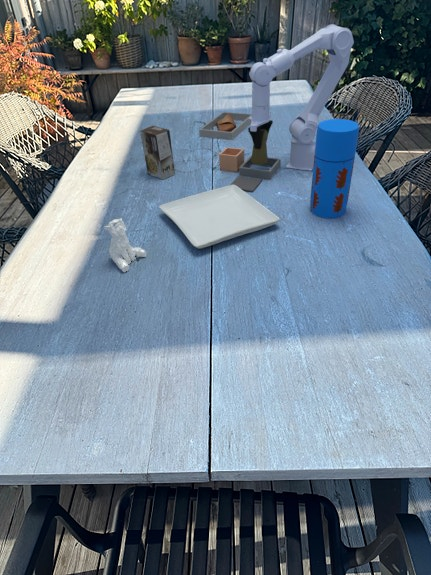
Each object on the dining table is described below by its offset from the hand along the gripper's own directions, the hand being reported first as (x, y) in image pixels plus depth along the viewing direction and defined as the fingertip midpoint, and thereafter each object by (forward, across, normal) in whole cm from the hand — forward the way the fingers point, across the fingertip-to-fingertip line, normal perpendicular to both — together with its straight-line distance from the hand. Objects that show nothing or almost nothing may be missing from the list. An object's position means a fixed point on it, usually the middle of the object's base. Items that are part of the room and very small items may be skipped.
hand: (260, 145), depth 142 cm
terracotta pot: (+9, 0, -11) cm, 14 cm away
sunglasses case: (+10, -39, -31) cm, 51 cm away
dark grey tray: (+9, -39, -30) cm, 50 cm away
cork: (+6, 0, 0) cm, 6 cm away
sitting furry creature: (+9, +64, -15) cm, 67 cm away
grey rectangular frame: (+9, 0, 0) cm, 9 cm away
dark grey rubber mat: (+9, +12, -1) cm, 15 cm away
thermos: (+10, +20, +29) cm, 36 cm away
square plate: (+10, +37, 0) cm, 38 cm away
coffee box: (+9, +13, -34) cm, 38 cm away
